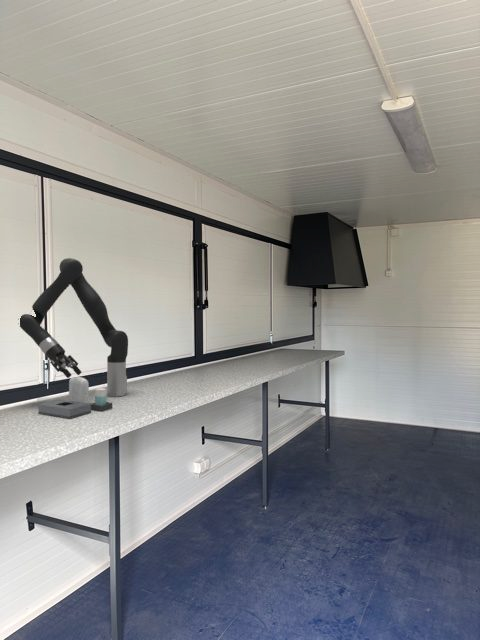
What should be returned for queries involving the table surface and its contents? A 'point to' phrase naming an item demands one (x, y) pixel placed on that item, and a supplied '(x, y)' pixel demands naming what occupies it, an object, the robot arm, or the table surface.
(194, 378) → the table surface
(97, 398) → the plug
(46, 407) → the block
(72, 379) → the photo printer
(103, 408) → the dark grey square frame
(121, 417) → the table surface
